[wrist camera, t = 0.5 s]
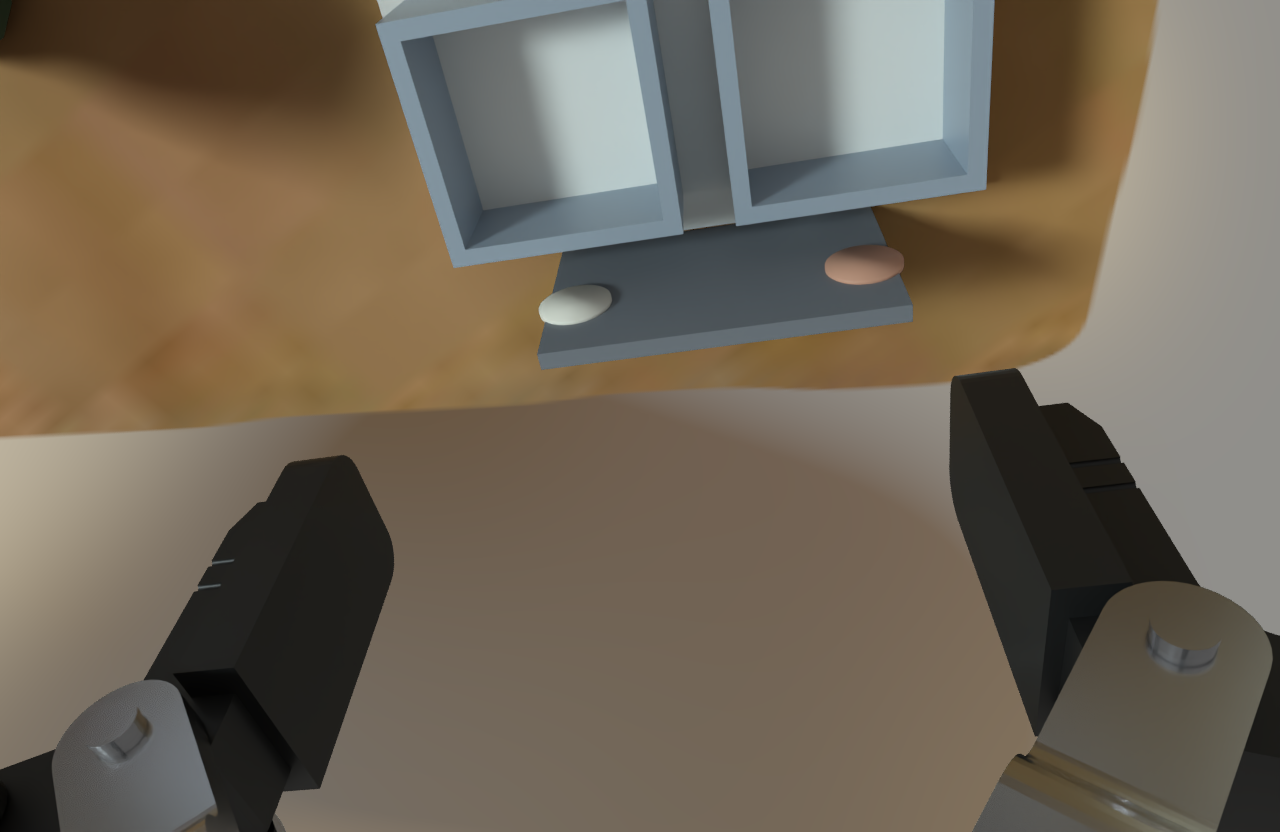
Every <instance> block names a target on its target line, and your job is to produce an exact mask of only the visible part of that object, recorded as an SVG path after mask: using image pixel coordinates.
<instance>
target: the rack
mask: <svg viewBox="0 0 1280 832" xmlns="http://www.w3.org/2000/svg"><path fill="white" fill-rule="evenodd" d="M377 1H378V5H379V8H380V11H381V14H382V17H383V18H382V19H381V20H380V21H379V22H378V23H376V24H375V25H376V28H377V31H378V34H379V37H380V40H381V43H382V47H383V50H384V53H385V56H386V59H387V62H388V65H389V68H390V71H391V74H392V78H393V81H394V84H395V87H396V90H397V93H398V96H399V99H400V102H401V105H402V109H403V112H404V115H405V118H406V121H407V124H408V127H409V130H410V133H411V137H412V140H413V143H414V146H415V149H416V152H417V155H418V158H419V161H420V164H421V168H422V171H423V174H424V177H425V180H426V183H427V186H428V189H429V192H430V196H431V199H432V202H433V205H434V208H435V211H436V214H437V217H438V220H439V223H440V227H441V230H442V233H443V236H444V239H445V242H446V245H447V248H448V251H449V255H450V258H451V261H452V264H453V267H454V268H456V267H463V266H470V265H477V264H484V263H490V262H497V261H504V260H511V259H517V258H524V257H531V256H538V255H545V254H551V253H558V252H565V251H572V250H579V249H585V248H592V247H599V246H606V245H612V244H619V243H626V242H633V241H640V240H646V239H653V238H660V237H667V236H674V235H680V234H683V230H689V229H696V228H703V227H710V226H717V225H723V224H730V223H736V226H741V225H748V224H755V223H762V222H769V221H775V220H782V219H789V218H796V217H803V216H809V215H816V214H823V213H830V212H836V211H843V210H850V209H857V208H864V207H870V206H877V205H884V204H891V203H898V202H904V201H911V200H918V199H925V198H932V197H938V196H945V195H952V194H959V193H965V192H972V191H979V190H986V181H987V158H988V136H989V113H990V91H991V69H992V46H993V24H994V2H995V0H377Z"/></svg>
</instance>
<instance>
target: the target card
mask: <svg viewBox="0 0 1280 832" xmlns="http://www.w3.org/2000/svg"><path fill="white" fill-rule="evenodd" d="M903 269H904V257H903V255H902V254H901V253H900V252H899V251H897V250H895V249H893V248H890V247H888V246H887V244H886V242H885V239H884V237H883V235H882V232H881V230H880V228H879V225H878V223H877V221H876V218H875V216H874V214H873V211H872V209H871V207H864V208H857V209H850V210H843V211H836V212H830V213H823V214H816V215H809V216H803V217H796V218H789V219H782V220H775V221H769V222H762V223H755V224H748V225H741V226H736V224H731V225H725V226H718V227H711V228H704V229H698V230H691V231H684V232H683V234H680V235H674V236H667V237H660V238H653V239H646V240H640V241H633V242H626V243H619V244H612V245H606V246H599V247H592V248H585V249H579V250H572V251H565V252H563V253H562V257H561V261H560V265H559V269H558V273H557V277H556V281H555V285H554V289H553V293H552V294H551V295H550V296H548V297H547V298H546V299H545V300H543V302H542V303H541V304H540V306H539V314H540V317H541V319H542V320H543V321H544V322H545V325H544V329H543V333H542V337H541V341H540V345H539V349H538V353H537V355H538V359H539V362H540V366H541V370H544V369H551V368H559V367H567V366H574V365H582V364H590V363H597V362H605V361H613V360H621V359H628V358H636V357H644V356H651V355H659V354H667V353H674V352H682V351H690V350H697V349H705V348H713V347H720V346H728V345H736V344H743V343H751V342H759V341H766V340H774V339H782V338H789V337H797V336H805V335H812V334H820V333H828V332H836V331H843V330H851V329H859V328H866V327H874V326H882V325H889V324H897V323H905V322H912V321H913V304H912V302H911V300H910V297H909V295H908V293H907V290H906V288H905V286H904V283H903V281H902V279H901V276H900V273H901V272H902V270H903Z"/></svg>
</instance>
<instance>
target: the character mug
mask: <svg viewBox="0 0 1280 832" xmlns="http://www.w3.org/2000/svg"><path fill="white" fill-rule="evenodd" d="M11 5H12V1H11V0H0V40H1V39H2V38H4V34H5V30H6V26H7V22H8V17H9V13H10V9H11Z"/></svg>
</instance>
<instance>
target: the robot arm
mask: <svg viewBox="0 0 1280 832" xmlns="http://www.w3.org/2000/svg"><path fill="white" fill-rule="evenodd" d="M950 397H951V398H950V465H949V468H950V469H949V470H950V484H951V492H952V498H953V503H954V507H955V511H956V515H957V518H958V521H959V524H960V527H961V530H962V533H963V535H964V538H965V541H966V544H967V547H968V550H969V552H970V555H971V558H972V561H973V563H974V566H975V569H976V572H977V575H978V578H979V580H980V583H981V586H982V589H983V592H984V594H985V597H986V600H987V603H988V606H989V608H990V611H991V614H992V617H993V620H994V623H995V625H996V628H997V631H998V634H999V637H1000V639H1001V642H1002V645H1003V648H1004V651H1005V654H1006V656H1007V659H1008V662H1009V665H1010V668H1011V670H1012V673H1013V676H1014V679H1015V682H1016V684H1017V687H1018V690H1019V693H1020V696H1021V698H1022V701H1023V704H1024V707H1025V710H1026V713H1027V715H1028V718H1029V721H1030V724H1031V727H1032V729H1033V732H1034V735H1035V736H1038V738H1037V740H1036V742H1035V744H1034V745H1033V747H1032V749H1031V750H1030V752H1029V753H1028V754H1027V755H1026V756H1024V755H1022V754H1017V755H1016V756H1015V757H1014V758H1013V759H1012V760H1011V762H1010V763H1009V764H1008V766H1007V767H1006V769H1005V770H1004V772H1003V774H1002V776H1001V777H1000V779H999V781H998V783H997V785H996V787H995V789H994V791H993V792H992V794H991V796H990V798H989V801H988V802H987V804H986V806H985V808H984V810H983V812H982V814H981V816H980V818H979V819H978V821H977V823H976V825H975V827H974V829H973V831H972V832H1280V636H1278V635H1275V634H1272V633H1269V632H1266V631H1264V630H1263V628H1262V627H1261V626H1260V624H1259V623H1258V622H1257V621H1256V620H1255V619H1254V617H1253V616H1251V615H1250V614H1249V613H1248V612H1247V611H1246V610H1244V609H1243V608H1242V607H1241V606H1239V605H1238V604H1236V603H1234V602H1233V601H1232V600H1230V599H1228V598H1226V597H1224V596H1222V595H1220V594H1218V593H1216V592H1213V591H1211V590H1208V589H1205V588H1203V587H1200V585H1199V584H1198V583H1197V581H1196V580H1195V578H1194V576H1193V575H1192V573H1191V571H1190V570H1189V568H1188V566H1187V565H1186V563H1185V562H1184V560H1183V558H1182V557H1181V555H1180V553H1179V552H1178V550H1177V549H1176V547H1175V545H1174V544H1173V542H1172V541H1171V539H1170V537H1169V536H1168V534H1167V532H1166V531H1165V529H1164V528H1163V526H1162V524H1161V522H1160V521H1159V519H1158V518H1157V516H1156V514H1155V513H1154V511H1153V510H1152V508H1151V506H1150V505H1149V503H1148V501H1147V500H1146V498H1145V496H1144V495H1143V493H1142V492H1141V490H1140V489H1139V488H1136V484H1135V480H1134V478H1133V477H1132V475H1131V474H1130V472H1129V470H1128V469H1127V467H1126V466H1125V464H1124V463H1121V461H1120V456H1119V454H1118V452H1117V451H1116V449H1115V448H1114V446H1113V444H1112V443H1111V441H1110V439H1109V438H1108V436H1107V435H1106V433H1105V431H1104V430H1103V428H1102V427H1101V426H1100V425H1099V424H1097V423H1096V422H1094V421H1093V420H1092V419H1090V418H1089V417H1087V416H1086V415H1084V414H1083V413H1081V412H1080V411H1079V410H1077V409H1076V408H1074V407H1073V406H1072V405H1070V404H1069V403H1061V404H1053V405H1045V406H1038V404H1037V402H1036V401H1035V399H1034V397H1033V395H1032V393H1031V391H1030V389H1029V388H1028V386H1027V384H1026V382H1025V380H1024V378H1023V376H1022V375H1021V373H1020V372H1019V370H1018V369H1016V368H1012V369H1005V370H997V371H990V372H982V373H975V374H967V375H959V376H954V377H953V379H952V382H951V393H950ZM212 563H213V564H212V566H211V567H208V568H207V570H206V572H205V573H204V575H203V577H202V579H201V581H200V582H199V584H198V588H199V589H198V591H196V592H194V593H193V594H192V596H191V598H190V600H189V602H188V603H187V605H186V607H185V609H184V610H183V612H182V614H181V616H180V617H179V619H178V621H177V623H176V625H175V626H174V628H173V630H172V631H171V633H170V635H169V637H168V638H167V640H166V642H165V644H164V645H163V647H162V649H161V651H160V652H159V654H158V656H157V658H156V659H155V661H154V663H153V665H152V666H151V668H150V670H149V672H148V674H147V675H146V677H145V679H144V680H143V681H139V682H135V683H131V684H129V685H126V686H123V687H121V688H119V689H117V690H115V691H113V692H111V693H109V694H107V695H106V696H104V697H102V698H101V699H99V700H98V701H96V702H95V703H94V704H93V705H91V706H90V707H89V708H87V709H86V710H85V711H84V712H83V713H82V714H81V715H80V716H79V717H78V718H77V719H76V720H75V721H74V722H73V723H72V724H71V725H70V727H69V728H68V729H67V731H66V732H65V733H64V735H63V736H62V738H61V740H60V741H59V743H58V745H57V747H56V749H55V750H52V751H49V752H47V753H44V754H42V755H39V756H36V757H33V758H31V759H28V760H25V761H22V762H20V763H17V764H15V765H12V766H9V767H6V768H4V769H1V770H0V832H286V831H285V828H284V826H283V824H282V822H281V821H280V819H279V818H278V817H277V815H276V814H275V811H276V808H277V806H278V803H279V800H280V798H281V795H282V792H283V791H295V790H308V789H319V788H320V787H321V784H322V781H323V778H324V775H325V772H326V769H327V766H328V763H329V760H330V758H331V755H332V752H333V749H334V746H335V743H336V740H337V737H338V734H339V731H340V728H341V725H342V722H343V719H344V717H345V714H346V711H347V708H348V705H349V702H350V699H351V696H352V693H353V690H354V687H355V685H356V682H357V679H358V676H359V673H360V670H361V667H362V664H363V661H364V659H365V656H366V653H367V650H368V647H369V644H370V641H371V638H372V635H373V632H374V629H375V626H376V624H377V621H378V618H379V614H380V612H381V609H382V606H383V603H384V600H385V597H386V595H387V592H388V589H389V585H390V583H391V580H392V576H393V570H394V553H393V546H392V541H391V538H390V535H389V533H388V531H387V529H386V526H385V524H384V523H383V520H382V519H381V516H380V514H379V512H378V510H377V508H376V506H375V504H374V502H373V500H372V498H371V496H370V494H369V492H368V489H367V487H366V485H365V483H364V481H363V479H362V477H361V475H360V473H359V471H358V469H357V467H356V465H355V464H354V463H353V461H352V460H351V459H350V458H349V457H347V456H344V455H340V456H332V457H325V458H317V459H309V460H302V461H294V462H291V463H289V464H288V465H287V466H285V468H284V470H283V471H282V473H281V475H280V477H279V478H278V480H277V482H276V484H275V486H274V488H273V489H272V492H271V493H270V495H269V497H268V499H267V501H266V502H259V503H257V504H256V505H255V506H254V507H253V508H252V509H251V510H250V511H249V512H248V513H247V514H246V515H245V516H244V517H243V518H242V519H241V520H239V521H238V522H237V523H236V524H235V525H234V526H233V527H232V528H231V529H230V530H229V531H228V533H227V535H226V537H225V538H224V540H223V542H222V544H221V545H220V547H219V549H218V551H217V553H216V554H215V556H214V558H213V559H212Z"/></svg>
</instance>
